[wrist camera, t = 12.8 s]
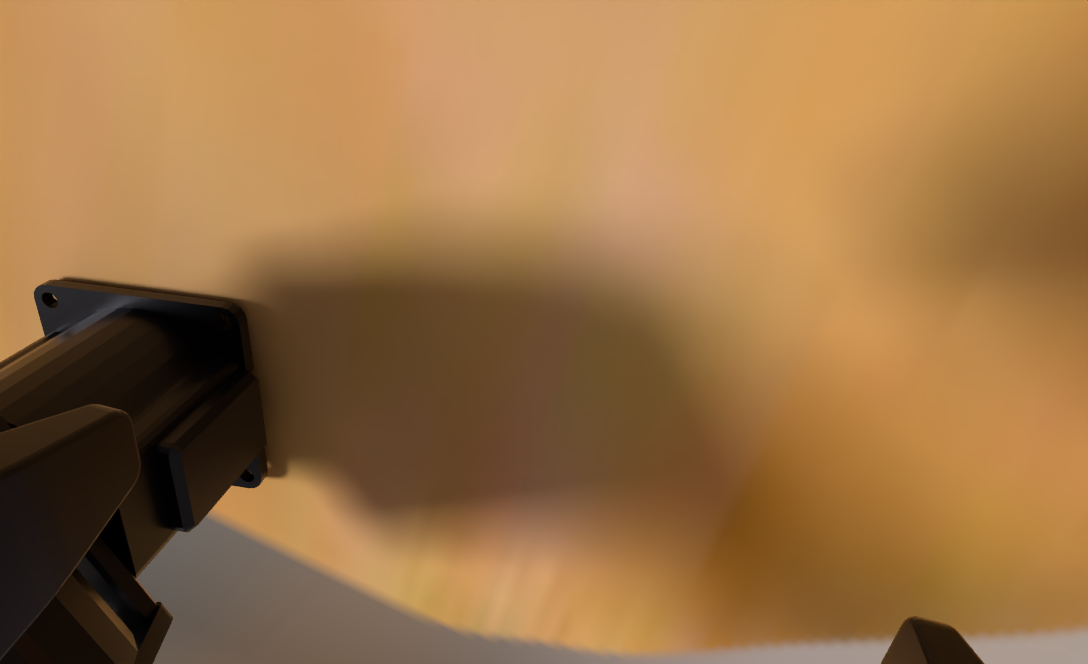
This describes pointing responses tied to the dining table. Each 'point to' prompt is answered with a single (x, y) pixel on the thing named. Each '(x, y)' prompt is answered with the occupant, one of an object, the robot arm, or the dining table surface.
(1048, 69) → the dining table surface
